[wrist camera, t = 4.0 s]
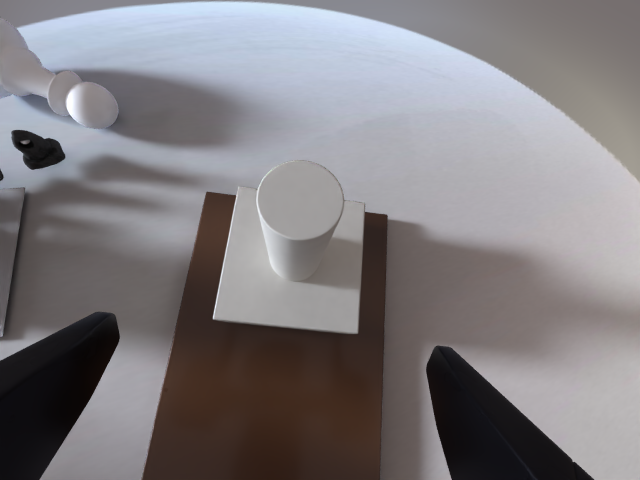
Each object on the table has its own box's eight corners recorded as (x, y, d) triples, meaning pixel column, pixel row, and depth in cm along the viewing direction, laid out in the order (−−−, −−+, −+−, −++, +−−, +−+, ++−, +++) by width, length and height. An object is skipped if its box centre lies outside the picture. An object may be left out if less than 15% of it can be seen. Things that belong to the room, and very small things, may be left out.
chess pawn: (-106, 12, 15) (77, 98, 17) (-14, -9, 19) (134, 64, 20) (-52, 101, 19) (93, 165, 20) (17, 71, 22) (139, 128, 24)
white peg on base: (346, 334, 18) (416, 333, 8) (225, 322, 18) (147, 306, 8) (353, 223, 20) (416, 117, 10) (245, 209, 20) (204, 85, 10)
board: (375, 494, 16) (379, 502, 16) (145, 480, 16) (138, 487, 15) (384, 218, 21) (388, 214, 21) (209, 196, 21) (206, 191, 20)
